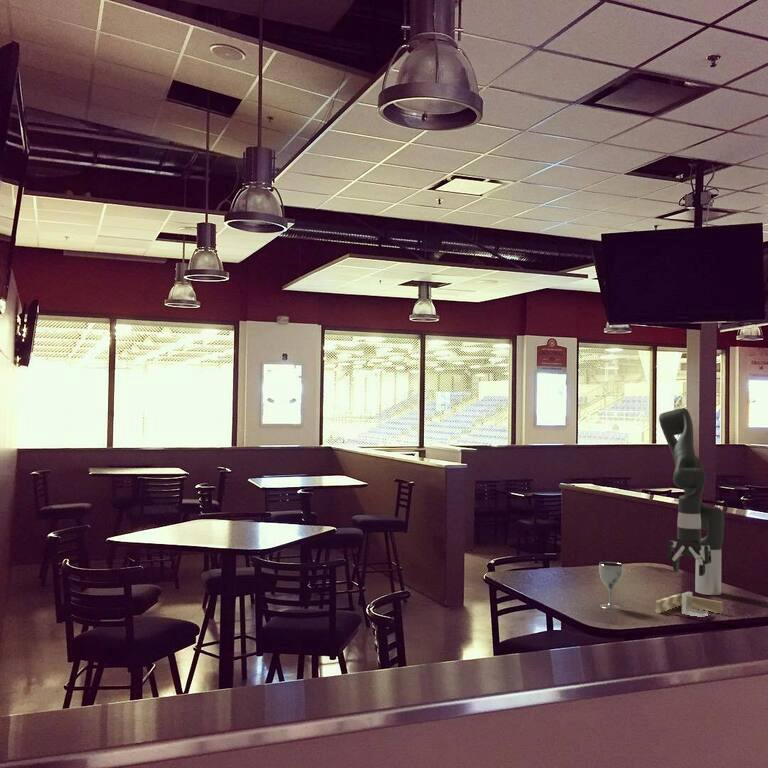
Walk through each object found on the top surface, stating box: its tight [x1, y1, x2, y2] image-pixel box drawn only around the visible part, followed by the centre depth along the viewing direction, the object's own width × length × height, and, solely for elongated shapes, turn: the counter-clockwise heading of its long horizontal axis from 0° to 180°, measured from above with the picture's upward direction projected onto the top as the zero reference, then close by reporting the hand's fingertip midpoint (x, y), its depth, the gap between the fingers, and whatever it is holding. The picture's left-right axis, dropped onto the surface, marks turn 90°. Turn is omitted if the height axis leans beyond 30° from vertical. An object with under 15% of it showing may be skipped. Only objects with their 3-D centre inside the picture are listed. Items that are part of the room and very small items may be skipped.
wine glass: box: [598, 561, 624, 610], centre depth 274 cm, size 8×8×15 cm
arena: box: [654, 593, 724, 615], centre depth 268 cm, size 18×16×4 cm
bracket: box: [681, 591, 709, 617], centre depth 265 cm, size 7×5×7 cm
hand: (688, 573), depth 267 cm, fingers open, 8 cm apart
